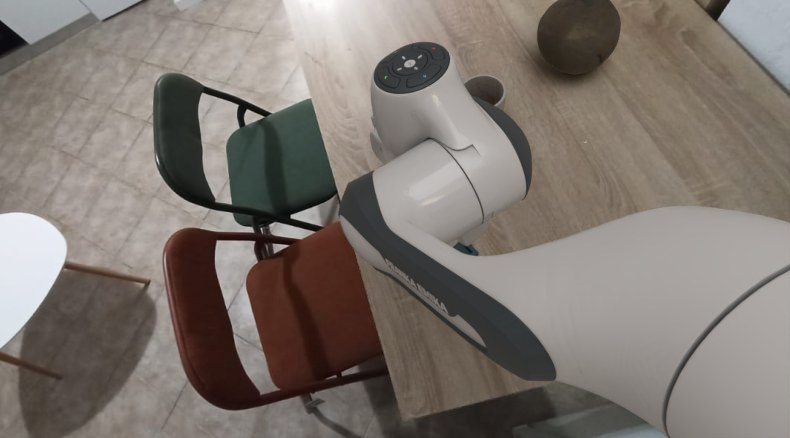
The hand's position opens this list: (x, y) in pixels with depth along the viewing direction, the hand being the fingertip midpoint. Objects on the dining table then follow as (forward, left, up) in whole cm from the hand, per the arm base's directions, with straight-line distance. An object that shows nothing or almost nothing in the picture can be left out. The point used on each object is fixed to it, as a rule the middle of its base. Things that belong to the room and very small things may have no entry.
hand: (427, 204), depth 65 cm
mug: (+18, -26, -21) cm, 38 cm away
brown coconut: (+15, -48, -21) cm, 54 cm away
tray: (0, 0, -21) cm, 21 cm away
